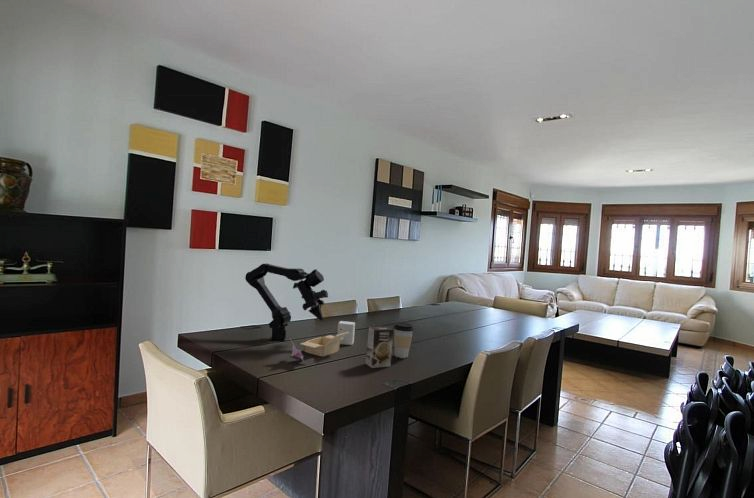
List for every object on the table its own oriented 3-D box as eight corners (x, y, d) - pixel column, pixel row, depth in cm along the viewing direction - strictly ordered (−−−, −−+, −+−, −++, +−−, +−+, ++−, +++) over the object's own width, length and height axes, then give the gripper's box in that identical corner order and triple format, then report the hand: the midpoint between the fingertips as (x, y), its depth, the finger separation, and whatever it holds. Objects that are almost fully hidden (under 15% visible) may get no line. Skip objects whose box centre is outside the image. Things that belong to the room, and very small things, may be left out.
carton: (296, 353, 176) (297, 342, 176) (326, 344, 196) (327, 334, 195) (315, 359, 171) (316, 347, 171) (345, 348, 190) (345, 338, 190)
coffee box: (371, 368, 165) (375, 329, 165) (365, 363, 171) (368, 326, 170) (390, 366, 169) (394, 329, 169) (383, 362, 175) (386, 325, 175)
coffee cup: (414, 356, 188) (416, 324, 188) (407, 360, 180) (409, 328, 179) (395, 352, 192) (398, 321, 192) (387, 356, 184) (390, 324, 183)
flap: (335, 335, 173) (336, 335, 173) (348, 331, 182) (348, 332, 182) (324, 344, 176) (325, 345, 176) (337, 340, 185) (338, 341, 185)
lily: (300, 372, 156) (312, 350, 159) (274, 358, 157) (287, 336, 159) (302, 372, 167) (314, 351, 170) (278, 358, 168) (290, 338, 171)
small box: (353, 342, 203) (355, 322, 203) (352, 345, 197) (353, 324, 197) (338, 341, 204) (340, 320, 203) (336, 343, 198) (338, 322, 198)
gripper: (316, 282, 182) (332, 312, 179) (325, 284, 200) (340, 311, 198) (295, 294, 182) (311, 324, 180) (306, 295, 201) (321, 322, 198)
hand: (322, 320), depth 189 cm, fingers closed
